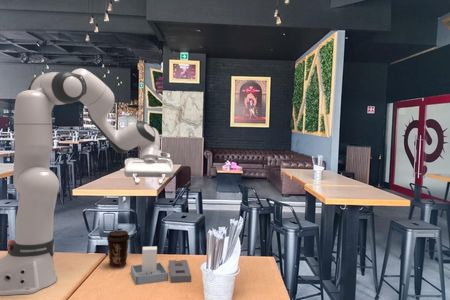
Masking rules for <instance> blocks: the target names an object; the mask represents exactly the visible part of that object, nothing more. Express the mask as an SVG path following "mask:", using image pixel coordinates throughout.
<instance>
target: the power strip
mask: <svg viewBox="0 0 450 300" xmlns="http://www.w3.org/2000/svg"><path fill="white" fill-rule="evenodd" d="M168 271H169V272H168V274H169V279H170V284H175V283H176V284H178V283H191V282H192V273H191V269H190V266H189V262H188V260H187V259H181V258H175V259H174V260H171V259H170V260H168Z"/></svg>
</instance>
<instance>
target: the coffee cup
mask: <svg viewBox="0 0 450 300" xmlns="http://www.w3.org/2000/svg"><path fill="white" fill-rule="evenodd" d="M129 240H130V235H129V232H128V231H126V230H121V229H119V230H112V231H109V233H108V234H107V236H106V241H107V244H108V245H107V251H108V252H107V253H108V259H109V261H108V262H109V263H108V267H109V269H113V270H121V269H123V268H125V267H126V266H127V258H128V251H129Z"/></svg>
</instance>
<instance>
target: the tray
mask: <svg viewBox="0 0 450 300" xmlns="http://www.w3.org/2000/svg"><path fill="white" fill-rule="evenodd" d="M130 274H131V276H132V277H131V278H133V279H132V280H133V281H134V283H135V286H137V285H146V284H153V283H161V282H168V281H169V272H168V270H167V269H166V267H165V266H164V265H163V263H162V262H161V261H160V262H157V265H156V272H152V274H151V272H147V275H146V272H142V263H141V264H134V265H130ZM150 274H151V275H150Z"/></svg>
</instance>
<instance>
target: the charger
mask: <svg viewBox="0 0 450 300" xmlns="http://www.w3.org/2000/svg"><path fill="white" fill-rule="evenodd" d="M141 252H142V253H141V254H142V255H141V264H142V272H146V275H147V272H151V274H152V272H156V265H157V263H158V262H157V261H158V260H157V259H158V258H157V257H158V246H157V245H156V246H142V251H141ZM151 274H150V275H151Z"/></svg>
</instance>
